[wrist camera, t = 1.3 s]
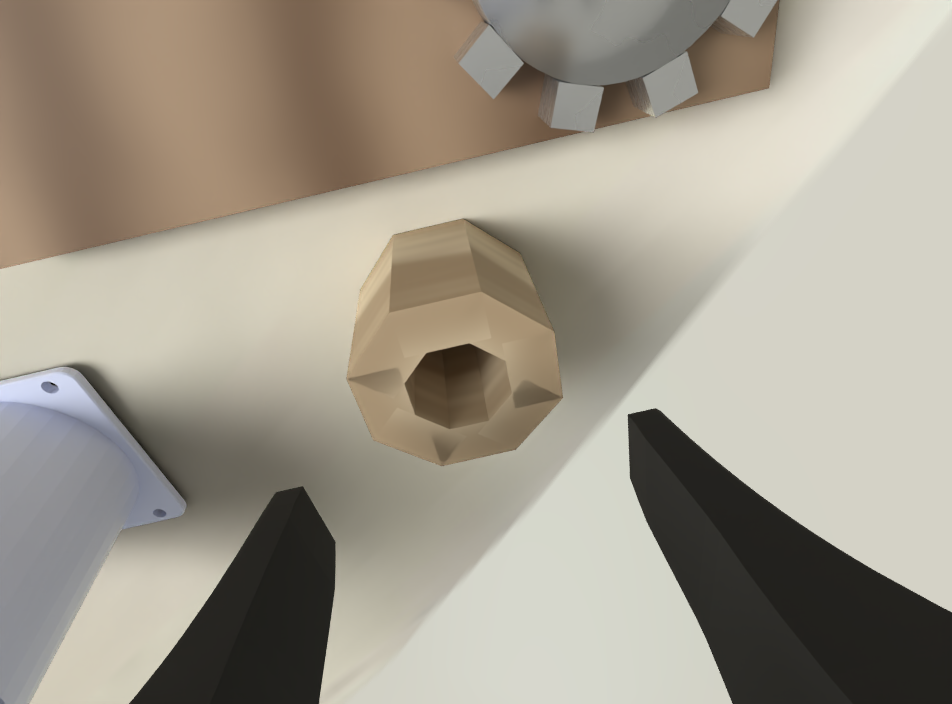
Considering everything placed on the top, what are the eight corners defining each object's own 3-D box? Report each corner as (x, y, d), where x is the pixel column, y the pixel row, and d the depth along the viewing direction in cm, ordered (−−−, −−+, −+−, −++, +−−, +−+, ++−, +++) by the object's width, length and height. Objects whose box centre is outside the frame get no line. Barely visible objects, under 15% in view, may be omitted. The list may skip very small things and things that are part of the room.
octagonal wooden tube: (393, 378, 20) (389, 477, 16) (343, 246, 17) (323, 327, 13) (535, 346, 20) (568, 437, 16) (512, 207, 17) (546, 276, 13)
